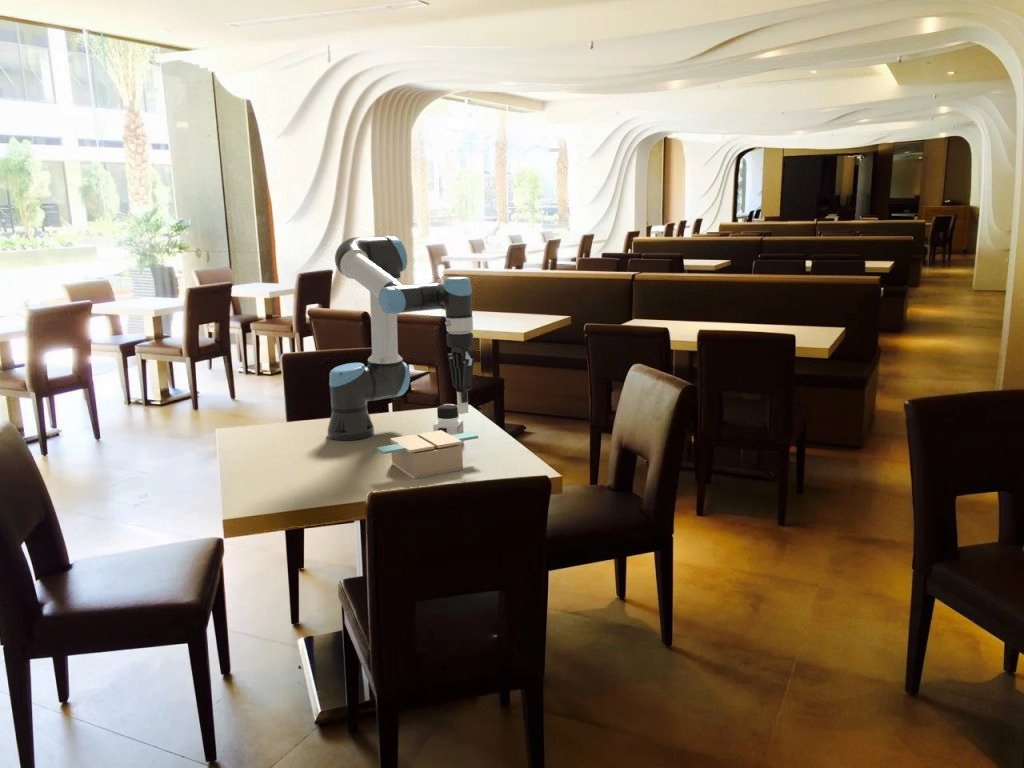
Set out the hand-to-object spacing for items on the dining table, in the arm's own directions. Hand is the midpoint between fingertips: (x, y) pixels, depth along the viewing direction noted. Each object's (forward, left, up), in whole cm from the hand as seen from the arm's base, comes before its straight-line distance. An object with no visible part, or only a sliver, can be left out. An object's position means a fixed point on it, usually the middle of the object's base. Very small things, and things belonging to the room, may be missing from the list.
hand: (463, 412), depth 237 cm
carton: (-2, -11, -15) cm, 19 cm away
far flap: (-2, -3, -7) cm, 8 cm away
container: (-19, +4, -15) cm, 24 cm away
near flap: (-2, -19, -7) cm, 20 cm away
